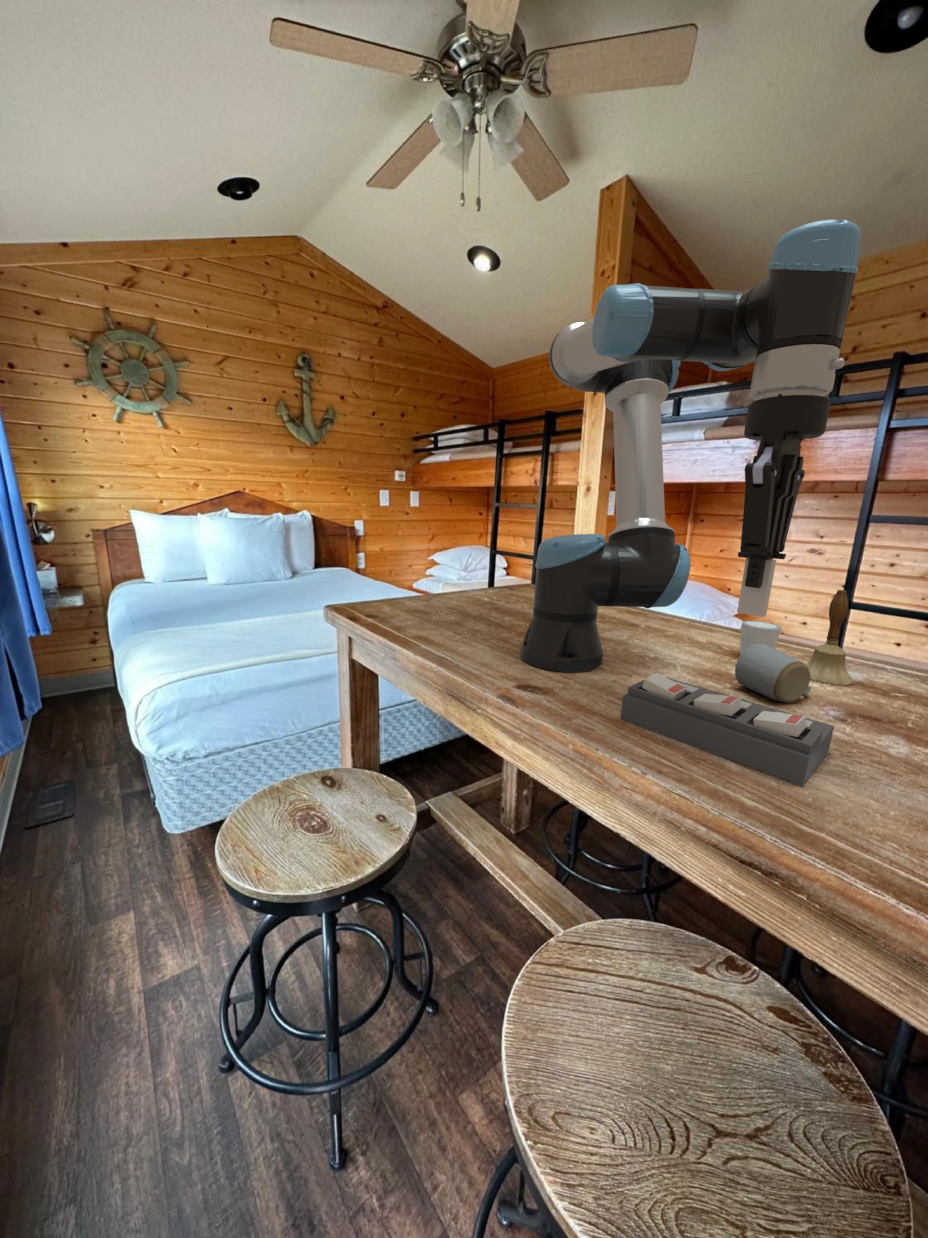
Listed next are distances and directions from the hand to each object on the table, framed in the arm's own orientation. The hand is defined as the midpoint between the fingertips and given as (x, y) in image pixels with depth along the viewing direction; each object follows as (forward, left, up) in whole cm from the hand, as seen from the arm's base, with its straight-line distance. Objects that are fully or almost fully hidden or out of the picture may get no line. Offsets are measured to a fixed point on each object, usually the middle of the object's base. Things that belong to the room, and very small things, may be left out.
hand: (751, 613), depth 59 cm
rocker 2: (+5, 0, -12) cm, 13 cm away
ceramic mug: (-2, +25, -18) cm, 31 cm away
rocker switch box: (-2, +3, -17) cm, 18 cm away
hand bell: (+2, +42, -18) cm, 45 cm away
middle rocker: (-2, 0, -12) cm, 12 cm away
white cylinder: (-10, +44, -18) cm, 48 cm away
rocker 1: (-9, 0, -12) cm, 15 cm away
